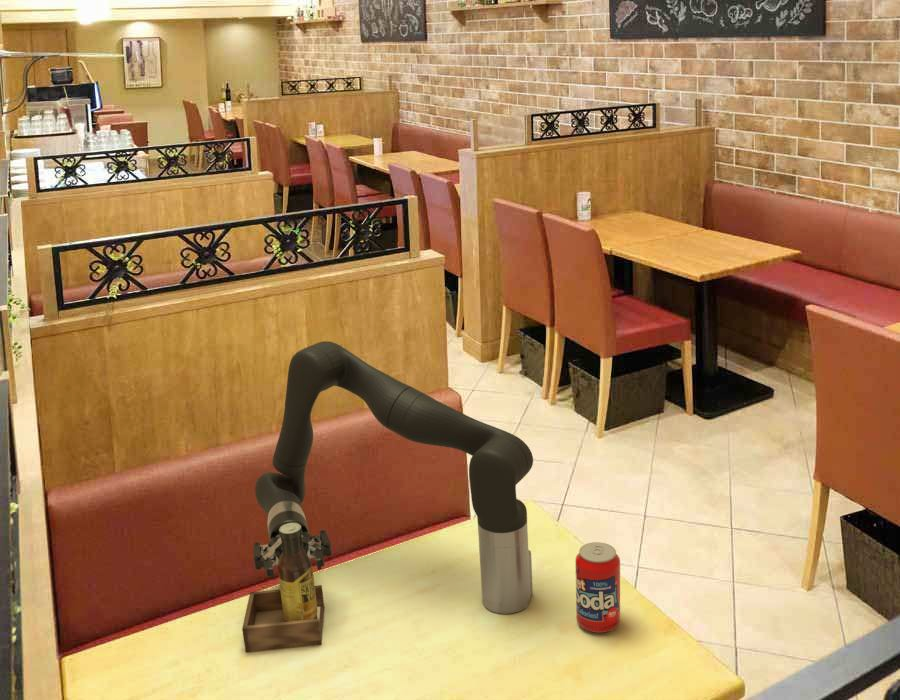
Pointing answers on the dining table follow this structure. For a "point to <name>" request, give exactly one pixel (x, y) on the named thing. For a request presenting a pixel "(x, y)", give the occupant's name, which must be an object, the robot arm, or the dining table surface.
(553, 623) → the dining table surface
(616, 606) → the soda can
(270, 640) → the box
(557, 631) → the dining table surface
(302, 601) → the sauce bottle
